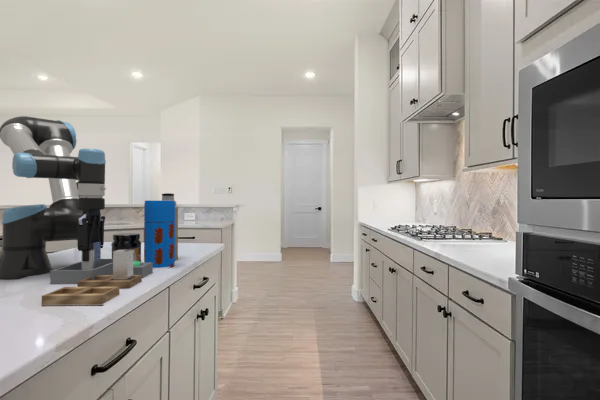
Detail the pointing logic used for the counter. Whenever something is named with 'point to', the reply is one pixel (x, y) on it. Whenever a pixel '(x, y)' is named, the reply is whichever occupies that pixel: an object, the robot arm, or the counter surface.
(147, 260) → the thermos
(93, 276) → the tote
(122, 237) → the supplement container
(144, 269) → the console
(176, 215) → the thermos bottle
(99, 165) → the robot arm
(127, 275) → the block
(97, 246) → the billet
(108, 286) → the pallets
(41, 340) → the counter surface
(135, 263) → the button
